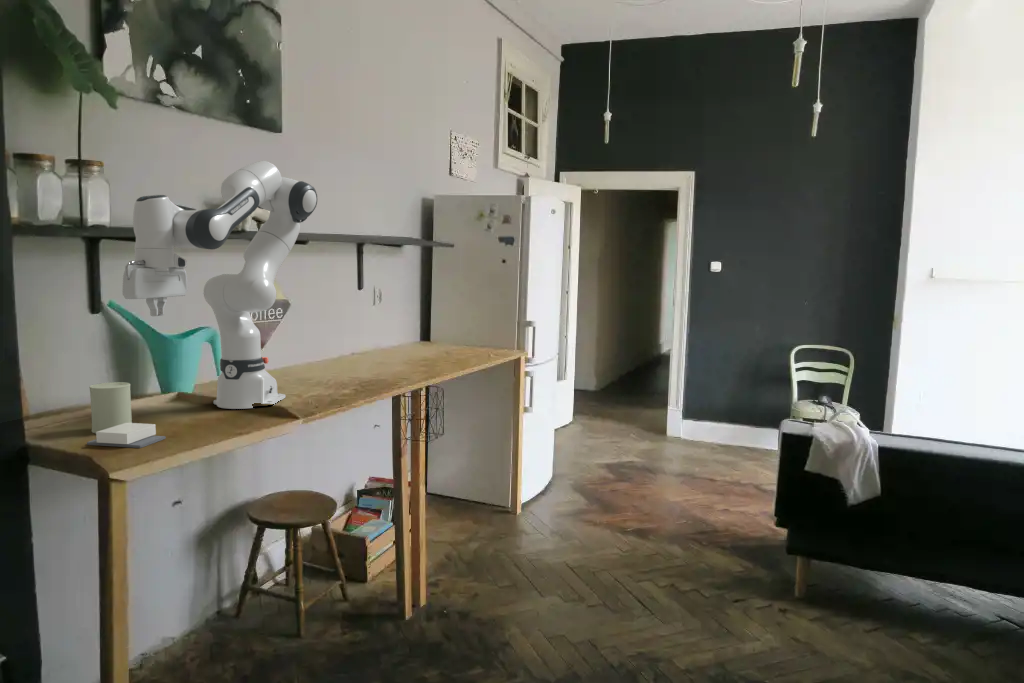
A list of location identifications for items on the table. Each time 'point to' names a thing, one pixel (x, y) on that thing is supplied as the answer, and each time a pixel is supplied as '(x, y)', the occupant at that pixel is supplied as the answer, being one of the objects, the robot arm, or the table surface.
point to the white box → (126, 433)
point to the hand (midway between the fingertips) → (157, 315)
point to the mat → (136, 444)
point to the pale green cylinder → (110, 405)
